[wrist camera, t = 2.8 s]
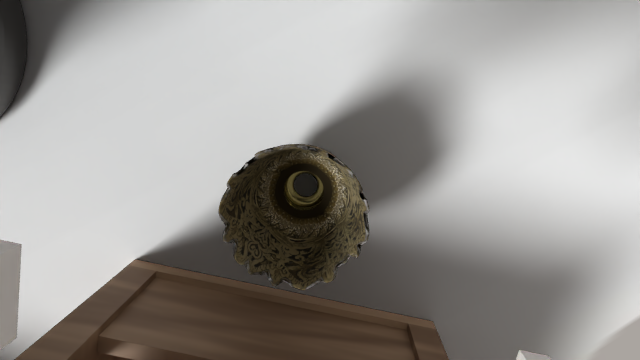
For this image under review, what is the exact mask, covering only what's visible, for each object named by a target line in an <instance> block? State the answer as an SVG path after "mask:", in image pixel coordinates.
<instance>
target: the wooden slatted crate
mask: <svg viewBox="0 0 640 360" xmlns="http://www.w3.org/2000/svg"><path fill="white" fill-rule="evenodd" d="M14 360H449V359H448V356H447V354H446V351H445V349H444V347H443V344H442V342H441V339H440V337H439V335H438V332H437V330H436V328H435V325H434V323H433V321H429V320H424V319H419V318H414V317H409V316H405V315H400V314H395V313H390V312H385V311H381V310H376V309H371V308H366V307H361V306H357V305H352V304H347V303H342V302H337V301H333V300H328V299H323V298H318V297H313V296H309V295H304V294H299V293H294V292H289V291H285V290H280V289H275V288H270V287H265V286H261V285H256V284H251V283H246V282H241V281H237V280H232V279H227V278H222V277H217V276H213V275H208V274H203V273H198V272H193V271H189V270H184V269H179V268H174V267H169V266H165V265H160V264H155V263H150V262H145V261H141V260H136V259H135V260H134V261H133V262H131V263H130V264H129V265H128V266H127V267H125V268H124V269H123V270H122V271H121V272H119V273H118V274H117V275H116V276H115V277H113V278H112V279H111V280H110V281H109V282H107V283H106V284H105V285H104V286H103V287H101V288H100V289H99V290H98V291H96V292H95V293H94V294H93V295H92V296H90V297H89V298H88V299H87V300H86V301H84V302H83V303H82V304H81V305H80V306H78V307H77V308H76V309H75V310H74V311H72V312H71V313H70V314H69V315H68V316H66V317H65V318H64V319H63V320H62V321H60V322H59V323H58V324H57V325H55V326H54V327H53V328H52V329H51V330H49V331H48V332H47V333H46V334H45V335H43V336H42V337H41V338H40V339H39V340H37V341H36V342H35V343H34V344H33V345H31V346H30V347H29V348H28V349H27V350H25V351H24V352H23V353H22V354H21V355H19V356H18V357H17V358H16V359H14Z"/></svg>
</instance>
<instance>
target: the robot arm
mask: <svg viewBox="0 0 640 360" xmlns="http://www.w3.org/2000/svg"><path fill="white" fill-rule="evenodd" d="M26 54H27V36H26V26H25V20H24V15H23V11H22V7H21V4H20V1H19V0H0V116H1V115H2V114H3V113H4V112H5V110H6V109H7V108H8V107H9V105H10V104H11V102H12V100H13V99H14V97H15V95H16V93H17V91H18V88H19V86H20V83H21V80H22V77H23V73H24V69H25V63H26ZM20 264H21V244H18V243H13V242H8V241H3V240H0V350H1V349H2V348H4V347H5V346H6V345H8V344H9V343H10V342H12V341H13V340H14V339H16V338H17V322H18V302H19V283H20ZM516 360H551V358H550V357H549V356H547V355H542V354H537V353H532V352H528V351H523V350H519V352H518V355H517V358H516Z"/></svg>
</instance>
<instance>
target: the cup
mask: <svg viewBox="0 0 640 360" xmlns="http://www.w3.org/2000/svg"><path fill="white" fill-rule="evenodd" d="M304 173H307V174H311V175H312V176H314V177H315V179H316V180H317V183H318V187H317V190H316V192H315V193H314V194H313V195H311V196H308V197H303V196H300V195H299V194H298V193H297V192H296V191H295V189H294V181H295V179H296V177H297V176H299V175H300V174H304ZM227 187H228V188H227V190H226V192H225V193H224V195H223V197H222V199H221V202H220V205H219V216H220V218H221V220H222V221H223V222H224V224H225V226H226V228H225V230H224V232H223V241H224V242H225V243H226V242H228V243H232V242H230V241H234V242H233V243H234V248H233V255H234V258H235V260H236V262H237V263H238V264H241V265H246V266H245V267H246V268H247V269H248V273H249V274H251V275H256V274H260V275H263V274H265V273H267V275H268V280H269V281H270V282H271V284H272V285H273V286H277V285H278V284H280V283H281V282H283V281H284V282H287V283H289V284H290V286H291V287H294V288H297V289H301V290H307V289H309V288H311V287H313V286H314V285H316V284H318V283H320V282H322V281H323V282H324V283H328V282H331V281H333V280H334V279H335V277H336V271H337V268H338V267H340V266H341V265H343V264H346V263H347V261H348V259H349V258H350V257H353V256H354V257H355V258H357V257H358V256H359V254H360V250H361V247H360V246H361V245H363V244H364V243H366V242H367V240H368V236H369V225H368V218H367V212H369V206H368V202H367V199H366V198H365V197H364V195H363V189H362V187H361V185H360V183H359V181H358V180H357V178H356V176H355V175H354V174H353V172H352V171H351V170H350V169H349V168H348V167H347V166H346V165H345V164H344V163H343V162H342V161H340V160H339V159H338V158H337V157H336V156H334V155H333V154H331V153H330V152H328V151H326V150H324V149H321V148H319V147H315V146H311V145H305V144H288V145H282V146H278V147H273V148H269V149H266V150H263V151H260V152H258V153H256V154H255V157H254V158H252V159H251V160H250V161H248V162H247V163H246V164H245V165H244V166H243V167H242V168H241V170H239V171H238V172H237V173H234V174H233V175H232V176H231V178H230V179H229V181H228V183H227Z"/></svg>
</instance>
